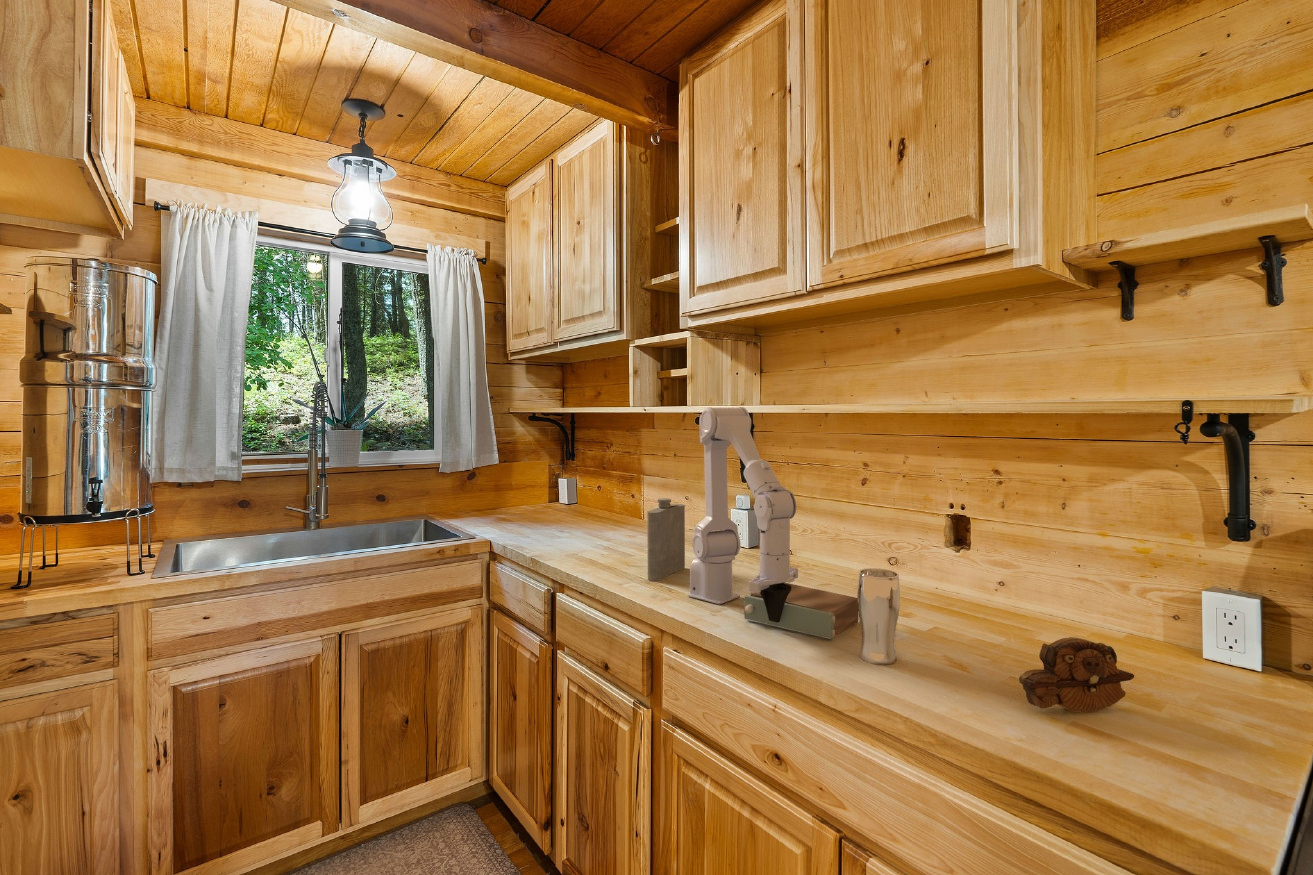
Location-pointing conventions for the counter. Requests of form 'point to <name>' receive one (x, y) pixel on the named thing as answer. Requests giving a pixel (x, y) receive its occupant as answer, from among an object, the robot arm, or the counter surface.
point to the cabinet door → (792, 617)
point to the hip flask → (665, 539)
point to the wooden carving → (1075, 676)
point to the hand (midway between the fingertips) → (774, 621)
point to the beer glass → (878, 614)
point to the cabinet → (825, 604)
